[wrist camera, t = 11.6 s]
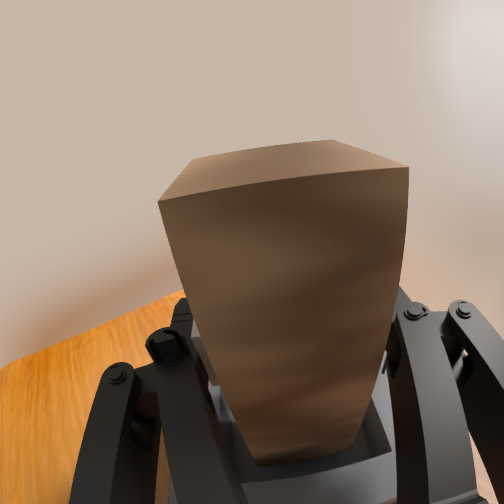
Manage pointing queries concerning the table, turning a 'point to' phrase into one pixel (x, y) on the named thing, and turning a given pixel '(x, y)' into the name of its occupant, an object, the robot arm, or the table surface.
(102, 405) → the robot arm
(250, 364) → the walnut block
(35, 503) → the table surface
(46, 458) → the table surface
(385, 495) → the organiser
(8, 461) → the table surface
